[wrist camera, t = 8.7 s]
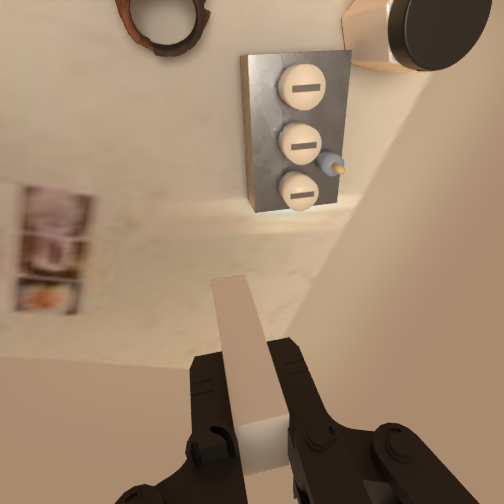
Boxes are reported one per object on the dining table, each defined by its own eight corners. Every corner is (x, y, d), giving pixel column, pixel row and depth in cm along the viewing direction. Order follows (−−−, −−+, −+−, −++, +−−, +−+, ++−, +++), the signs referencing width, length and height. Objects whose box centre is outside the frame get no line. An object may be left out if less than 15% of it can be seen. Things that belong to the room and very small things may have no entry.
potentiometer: (315, 171, 39) (330, 182, 35) (316, 151, 38) (332, 161, 34) (334, 169, 39) (350, 180, 35) (336, 149, 38) (353, 158, 34)
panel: (248, 198, 44) (255, 212, 40) (239, 55, 36) (247, 55, 31) (322, 189, 46) (336, 202, 42) (332, 51, 37) (352, 49, 33)
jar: (365, 87, 40) (428, 95, 30) (325, 34, 36) (381, 23, 26) (422, 23, 37) (512, 8, 27) (386, -42, 34) (474, -86, 24)
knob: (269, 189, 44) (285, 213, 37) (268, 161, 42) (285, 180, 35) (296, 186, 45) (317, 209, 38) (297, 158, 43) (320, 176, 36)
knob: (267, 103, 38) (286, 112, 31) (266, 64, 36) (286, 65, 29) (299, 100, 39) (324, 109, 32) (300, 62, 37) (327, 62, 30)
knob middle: (268, 149, 41) (285, 166, 34) (267, 116, 39) (286, 128, 32) (297, 146, 42) (320, 163, 35) (298, 113, 40) (323, 124, 33)
